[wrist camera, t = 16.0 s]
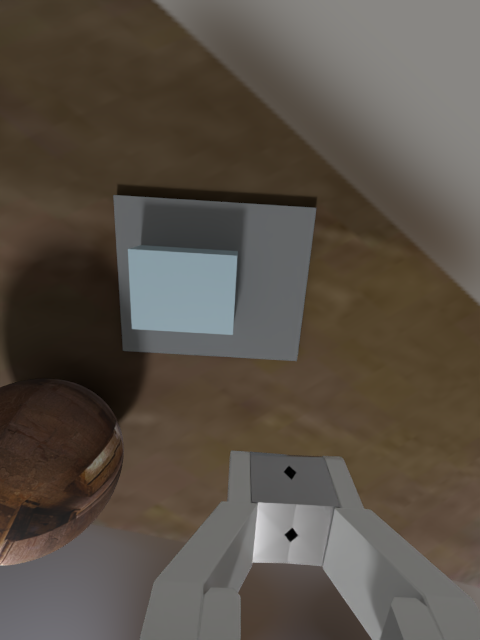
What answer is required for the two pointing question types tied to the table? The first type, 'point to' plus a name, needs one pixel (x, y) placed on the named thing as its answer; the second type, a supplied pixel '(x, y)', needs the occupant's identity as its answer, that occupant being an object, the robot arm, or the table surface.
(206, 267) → the block
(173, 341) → the mat
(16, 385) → the wooden sphere
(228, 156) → the table surface
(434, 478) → the table surface
